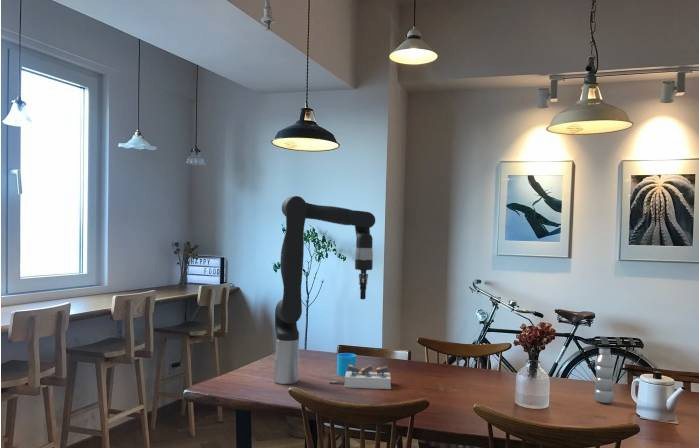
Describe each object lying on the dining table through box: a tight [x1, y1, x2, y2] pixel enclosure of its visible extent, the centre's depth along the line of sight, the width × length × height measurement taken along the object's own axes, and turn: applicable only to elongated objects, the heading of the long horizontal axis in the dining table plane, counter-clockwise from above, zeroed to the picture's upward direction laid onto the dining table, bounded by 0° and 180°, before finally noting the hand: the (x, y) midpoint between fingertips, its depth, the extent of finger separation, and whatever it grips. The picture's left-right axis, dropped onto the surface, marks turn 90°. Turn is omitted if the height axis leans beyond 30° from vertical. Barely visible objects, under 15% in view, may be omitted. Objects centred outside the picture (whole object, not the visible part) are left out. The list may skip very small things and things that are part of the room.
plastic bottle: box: [593, 347, 615, 404], centre depth 199 cm, size 6×7×20 cm
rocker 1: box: [348, 364, 361, 373], centre depth 216 cm, size 5×3×2 cm
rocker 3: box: [375, 365, 389, 374], centre depth 216 cm, size 5×3×2 cm
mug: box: [336, 352, 357, 377], centre depth 233 cm, size 12×8×8 cm
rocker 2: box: [360, 363, 374, 375], centre depth 216 cm, size 5×3×2 cm
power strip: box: [329, 371, 392, 390], centre depth 215 cm, size 25×9×5 cm, turn 87°
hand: (362, 299), depth 228 cm, fingers closed
